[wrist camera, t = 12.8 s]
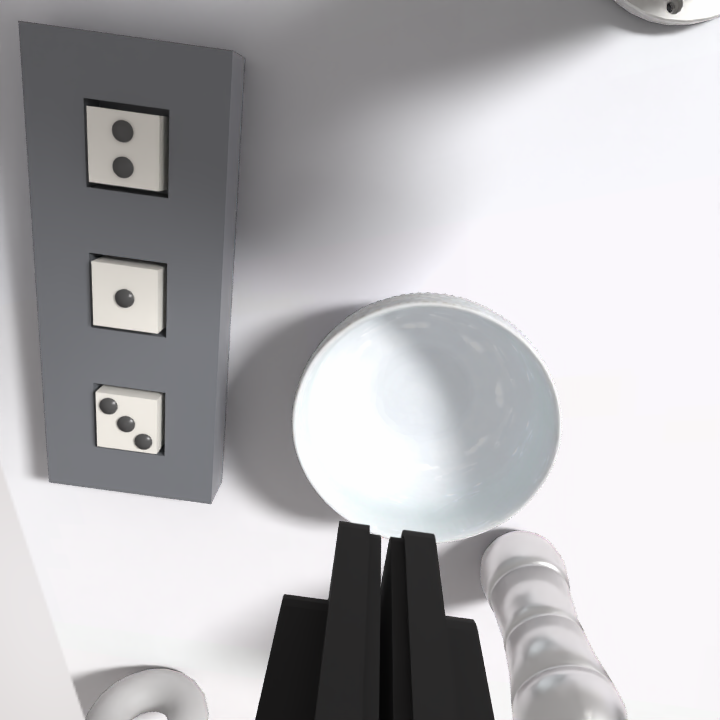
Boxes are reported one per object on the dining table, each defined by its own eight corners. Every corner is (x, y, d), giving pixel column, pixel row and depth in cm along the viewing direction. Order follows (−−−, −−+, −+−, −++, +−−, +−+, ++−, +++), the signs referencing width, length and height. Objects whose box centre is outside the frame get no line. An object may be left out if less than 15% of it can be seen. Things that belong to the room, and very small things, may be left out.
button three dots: (111, 378, 42) (94, 392, 40) (169, 386, 42) (156, 401, 40) (112, 430, 44) (96, 447, 41) (168, 438, 44) (155, 455, 41)
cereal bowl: (260, 349, 42) (236, 387, 35) (467, 228, 39) (484, 246, 32) (380, 522, 47) (379, 585, 40) (574, 429, 43) (609, 480, 37)
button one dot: (108, 254, 39) (90, 261, 37) (171, 262, 39) (157, 270, 37) (109, 314, 40) (92, 325, 38) (170, 322, 40) (156, 334, 38)
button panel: (47, 30, 35) (18, 20, 33) (244, 58, 36) (232, 50, 33) (69, 461, 46) (49, 482, 43) (221, 481, 46) (211, 504, 43)
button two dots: (105, 108, 36) (85, 105, 33) (173, 117, 36) (158, 115, 33) (106, 179, 37) (87, 182, 35) (172, 188, 37) (157, 191, 35)
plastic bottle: (468, 581, 48) (520, 859, 30) (485, 512, 46) (553, 767, 27) (545, 592, 48) (645, 876, 30) (566, 524, 46) (690, 786, 27)
